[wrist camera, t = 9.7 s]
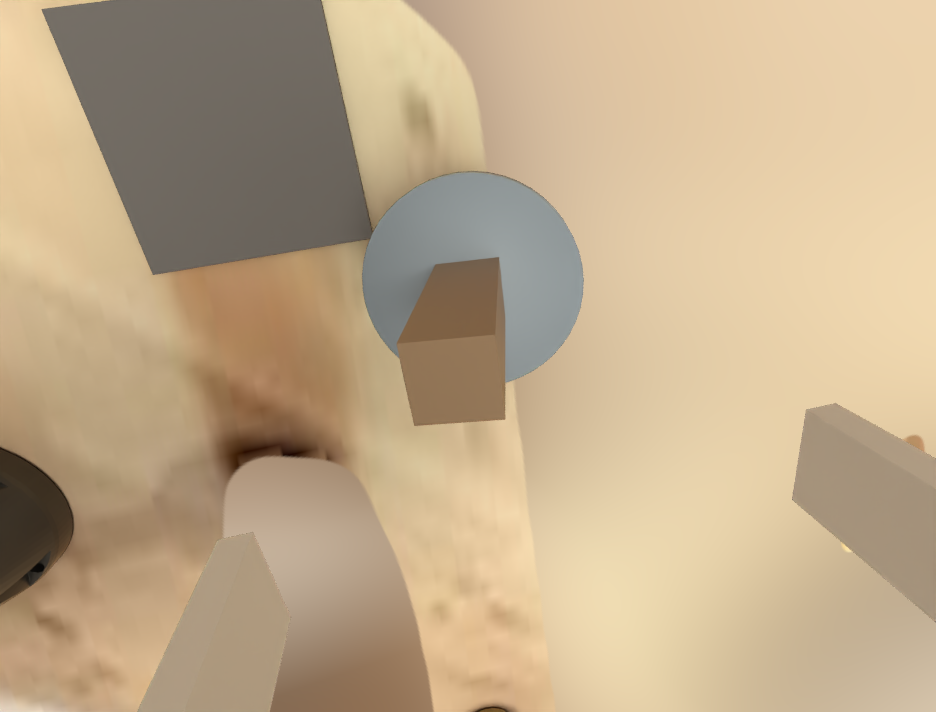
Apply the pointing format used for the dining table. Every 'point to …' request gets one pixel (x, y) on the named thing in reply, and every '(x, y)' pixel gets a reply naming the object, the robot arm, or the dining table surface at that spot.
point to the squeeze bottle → (492, 710)
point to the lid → (470, 291)
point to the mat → (217, 124)
